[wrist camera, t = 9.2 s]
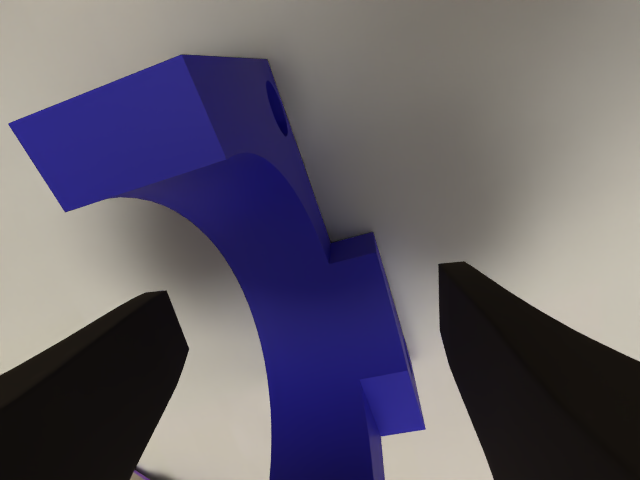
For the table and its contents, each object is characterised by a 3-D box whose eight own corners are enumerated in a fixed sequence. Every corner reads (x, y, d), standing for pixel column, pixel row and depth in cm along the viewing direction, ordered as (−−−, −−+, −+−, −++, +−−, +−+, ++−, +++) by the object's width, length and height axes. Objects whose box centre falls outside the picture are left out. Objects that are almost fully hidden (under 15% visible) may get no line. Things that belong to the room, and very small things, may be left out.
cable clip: (411, 362, 15) (448, 534, 9) (305, 383, 16) (284, 550, 10) (317, 40, 10) (284, 13, 5) (174, 94, 11) (7, 123, 6)
